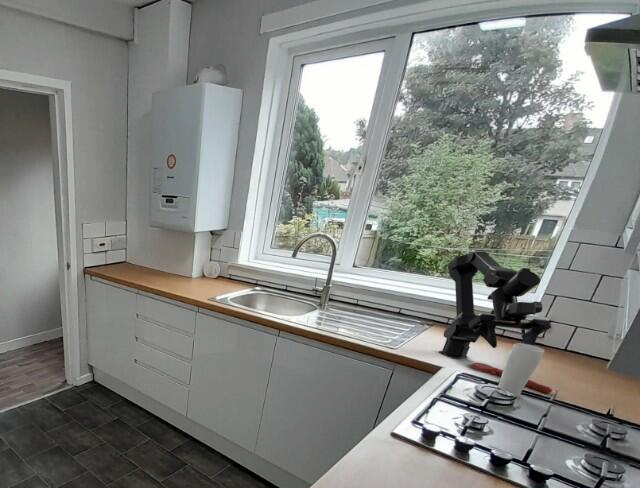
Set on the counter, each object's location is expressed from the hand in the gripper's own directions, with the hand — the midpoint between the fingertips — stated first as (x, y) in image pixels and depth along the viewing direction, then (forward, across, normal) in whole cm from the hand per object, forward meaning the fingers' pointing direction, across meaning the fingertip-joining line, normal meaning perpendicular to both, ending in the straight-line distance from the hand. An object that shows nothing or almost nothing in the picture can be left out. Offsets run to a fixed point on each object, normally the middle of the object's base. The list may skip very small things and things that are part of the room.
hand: (512, 349), depth 122 cm
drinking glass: (+13, 0, +5) cm, 14 cm away
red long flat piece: (+3, +8, +14) cm, 17 cm away
